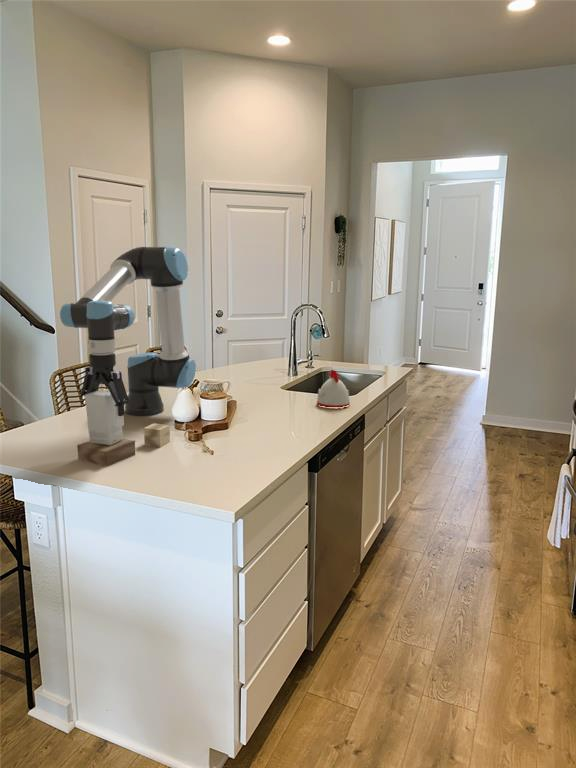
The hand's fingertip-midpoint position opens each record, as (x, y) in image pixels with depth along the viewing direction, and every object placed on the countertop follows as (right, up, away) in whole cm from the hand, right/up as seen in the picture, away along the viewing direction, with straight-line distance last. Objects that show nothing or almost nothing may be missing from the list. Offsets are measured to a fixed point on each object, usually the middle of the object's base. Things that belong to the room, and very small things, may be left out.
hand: (105, 422), depth 180 cm
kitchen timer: (+75, +3, +71) cm, 103 cm away
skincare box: (0, -6, +2) cm, 7 cm away
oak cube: (+12, -8, +15) cm, 21 cm away
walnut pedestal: (0, -11, +2) cm, 11 cm away
